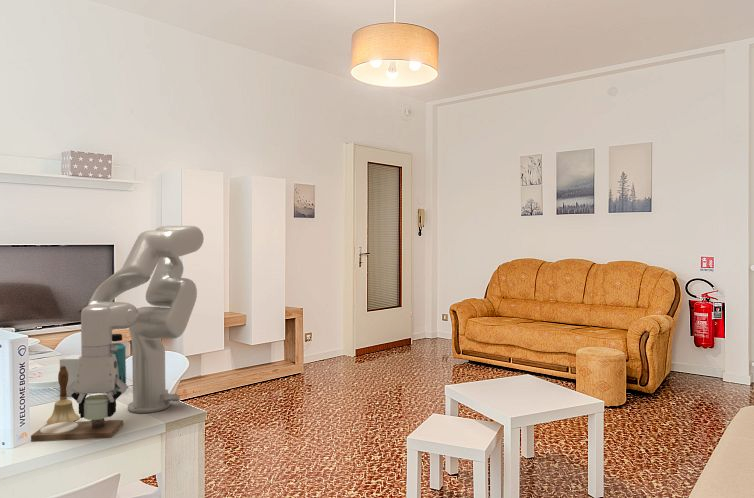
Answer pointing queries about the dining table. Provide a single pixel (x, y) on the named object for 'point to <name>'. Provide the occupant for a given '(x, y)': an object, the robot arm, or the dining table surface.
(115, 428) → the board
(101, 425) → the post
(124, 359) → the beverage bottle
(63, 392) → the hand bell
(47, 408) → the dining table surface
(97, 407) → the cap
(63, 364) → the supplement box
